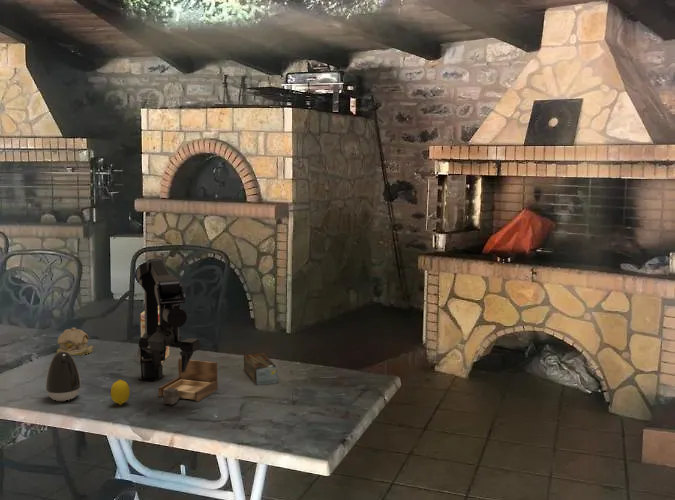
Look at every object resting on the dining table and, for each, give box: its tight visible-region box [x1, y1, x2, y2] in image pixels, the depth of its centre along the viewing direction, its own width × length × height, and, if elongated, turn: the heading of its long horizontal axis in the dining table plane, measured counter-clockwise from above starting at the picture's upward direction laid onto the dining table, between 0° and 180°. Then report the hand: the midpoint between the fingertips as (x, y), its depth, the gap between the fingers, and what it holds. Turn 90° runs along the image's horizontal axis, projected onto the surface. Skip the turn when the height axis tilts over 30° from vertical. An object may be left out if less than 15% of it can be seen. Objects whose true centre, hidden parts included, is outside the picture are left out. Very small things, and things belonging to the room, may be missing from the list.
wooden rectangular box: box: [243, 352, 278, 386], centre depth 236 cm, size 8×19×6 cm, turn 21°
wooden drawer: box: [162, 379, 210, 406], centre depth 214 cm, size 11×17×4 cm, turn 162°
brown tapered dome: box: [45, 351, 82, 402], centre depth 210 cm, size 10×10×15 cm
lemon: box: [110, 379, 131, 406], centre depth 206 cm, size 6×6×8 cm
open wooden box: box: [157, 358, 219, 403], centre depth 217 cm, size 14×13×9 cm
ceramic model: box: [56, 327, 94, 356], centre depth 264 cm, size 14×11×10 cm
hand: (170, 370), depth 206 cm, fingers open, 9 cm apart
